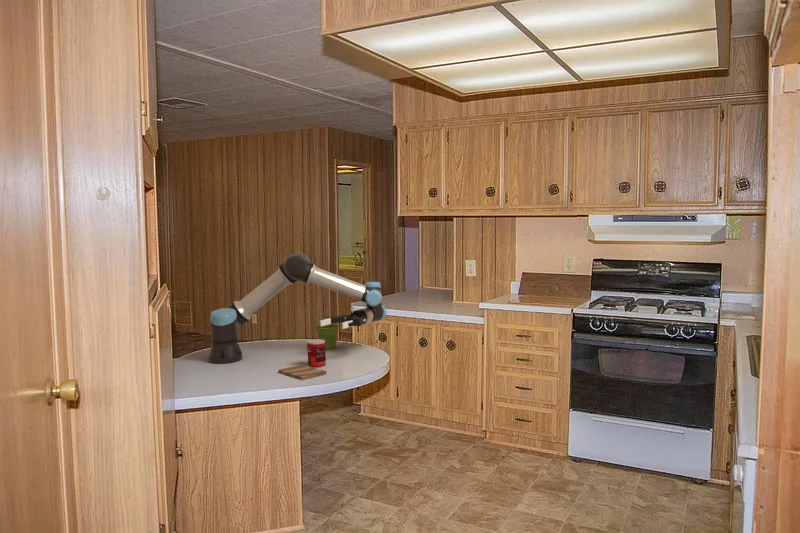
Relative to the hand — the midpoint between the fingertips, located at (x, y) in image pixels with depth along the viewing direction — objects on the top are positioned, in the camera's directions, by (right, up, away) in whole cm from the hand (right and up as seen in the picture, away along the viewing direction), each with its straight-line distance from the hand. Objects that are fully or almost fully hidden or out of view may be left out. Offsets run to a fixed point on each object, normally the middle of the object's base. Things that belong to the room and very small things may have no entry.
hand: (331, 324), depth 275 cm
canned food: (-6, -18, -6) cm, 20 cm away
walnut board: (-10, -19, -19) cm, 28 cm away
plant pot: (-5, -14, +28) cm, 31 cm away
